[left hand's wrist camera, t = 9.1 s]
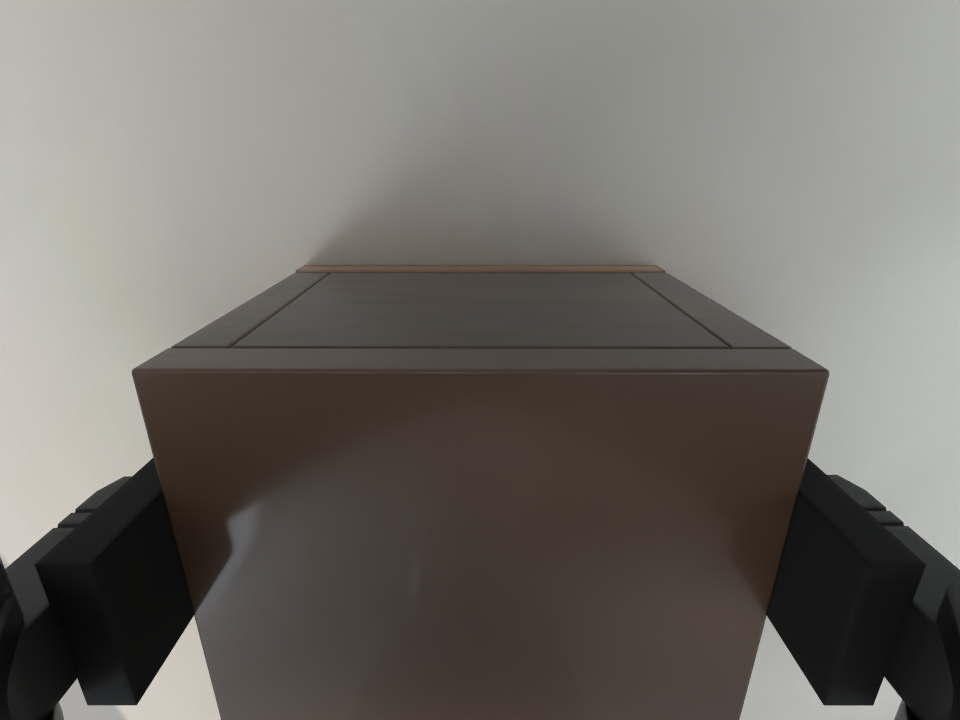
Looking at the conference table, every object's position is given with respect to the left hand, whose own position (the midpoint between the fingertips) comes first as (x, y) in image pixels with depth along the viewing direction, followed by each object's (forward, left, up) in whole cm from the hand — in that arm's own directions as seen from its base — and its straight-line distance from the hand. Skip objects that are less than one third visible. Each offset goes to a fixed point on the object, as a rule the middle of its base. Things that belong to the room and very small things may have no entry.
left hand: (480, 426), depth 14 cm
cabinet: (+3, -1, -3) cm, 5 cm away
